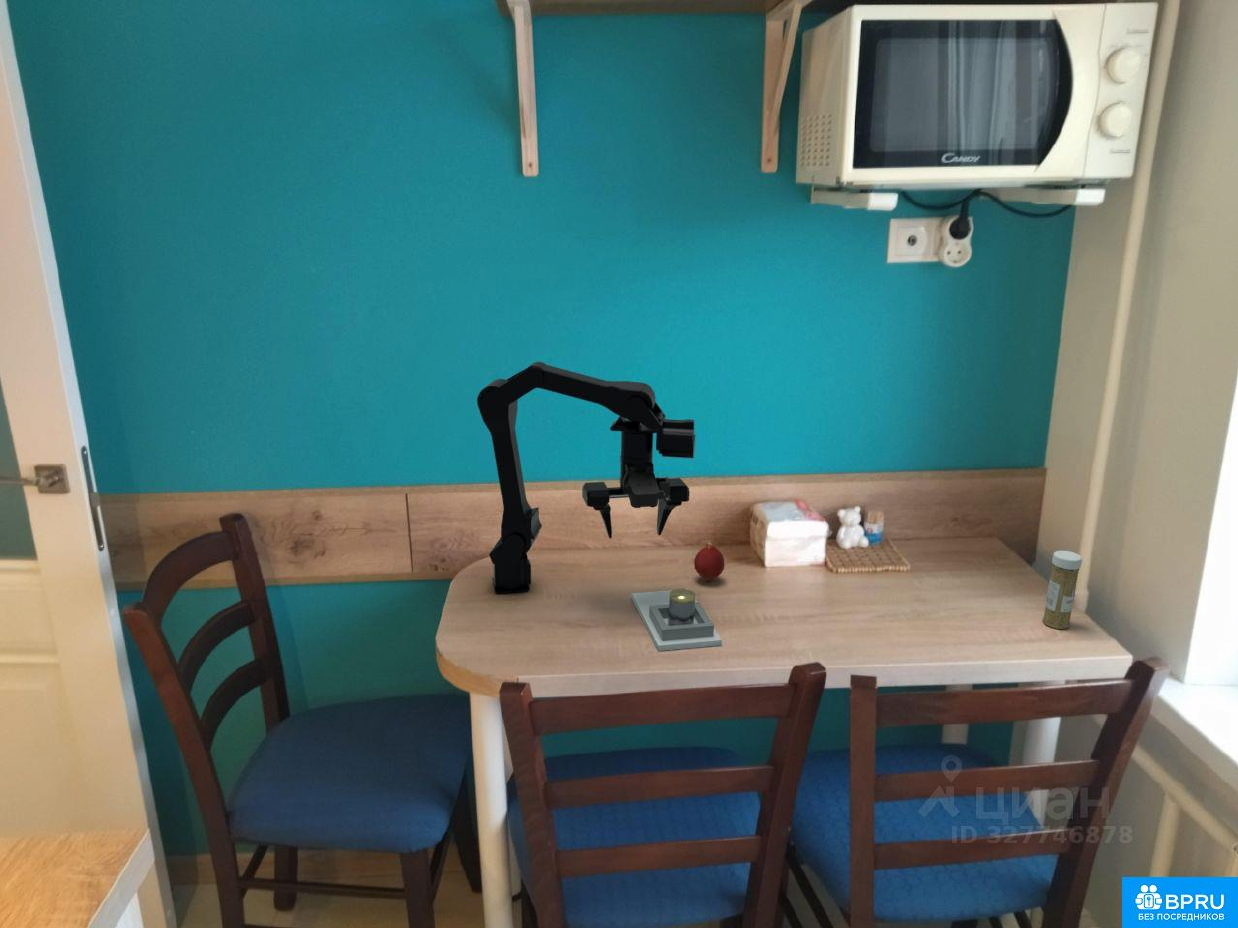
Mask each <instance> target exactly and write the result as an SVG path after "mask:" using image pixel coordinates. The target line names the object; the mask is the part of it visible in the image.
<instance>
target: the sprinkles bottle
mask: <svg viewBox="0 0 1238 928" xmlns="http://www.w3.org/2000/svg"><path fill="white" fill-rule="evenodd" d="M1082 561H1083V558H1082V556H1081V555H1080V554H1078V553H1076V552H1073V551H1070V550H1056V551H1054V552H1053V555H1052V560H1051V563H1052V564H1051V565H1052V567H1051V572H1050V577H1049V582H1048V587H1047V592H1046V599H1045V607H1044V614H1043V616H1042V622H1043V624H1044V625H1046V626H1047V627H1049V628H1052V629H1056V630H1066V629H1068V628H1069V627H1070V626H1071V622H1070V620H1071V615H1072V610H1073V608H1074V601H1075V596H1076V589H1077V581H1078V577H1079V576H1078V575H1079V571H1080V568H1081V566H1082Z"/></svg>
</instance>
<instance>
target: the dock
mask: <svg viewBox="0 0 1238 928" xmlns="http://www.w3.org/2000/svg"><path fill="white" fill-rule="evenodd" d="M686 589H687V590H690V589H689V588H686ZM672 590H673V589H671V590H659V591H657V590H656V591H646V592H645V591H643V592H634V593H633V592H632V593H631V600H632V603H634V606H635V607H636V610H637V612H638V615H640V618H641V620H642V621H643V625H644V626H645V628H646V630H647V632H648V634H649V636H650V638H651V639H652V641H653V644H654V645H655V647H656V650H657V651H658V652H663V651H674V650H684V649H694V648H695V649H696V648H705V647H717V646H722V645H723V643H722V642H723V641H722V638H721V637H720V635H719V633H718V632H717V630H716V629H715V625H714V624H713V622H712V620H711V619H710V617H709V616H708V614H707V612H706V610H705V609H704V608H703V607H702V605H701V604H700V602H699V601H697V599H696V598H695V610H694V624H686V625H675V626H668V614H669V598H670V592H671V591H672Z"/></svg>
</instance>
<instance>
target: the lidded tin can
mask: <svg viewBox="0 0 1238 928" xmlns="http://www.w3.org/2000/svg"><path fill="white" fill-rule="evenodd" d="M687 589H688V588H676V589H671V590H672V591H671V592H670V598H669V614H668V626H675V625H686V624H694V610H695V599H696V593H695V592H693V591H692V590H690V589H689V590H687Z"/></svg>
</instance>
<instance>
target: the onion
mask: <svg viewBox="0 0 1238 928" xmlns="http://www.w3.org/2000/svg"><path fill="white" fill-rule="evenodd" d="M705 545H706V546H705V547H703V548H701V549H700V550H698V552H697V554H695V556H694V561H693V564H694V569H695V571H696V573H697V574H698V575H699V576H700V577H702V579H704V580H705V582H712V581H713V580H715V579H717V578H718V577H719V576H721V574H722V573H723V571H725V558H724V555H723V554H722V552H721V551H720V550H719V549H718V548H717V547H716V546H714V545H713V543H712V542H707V543H706V544H705Z"/></svg>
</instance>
